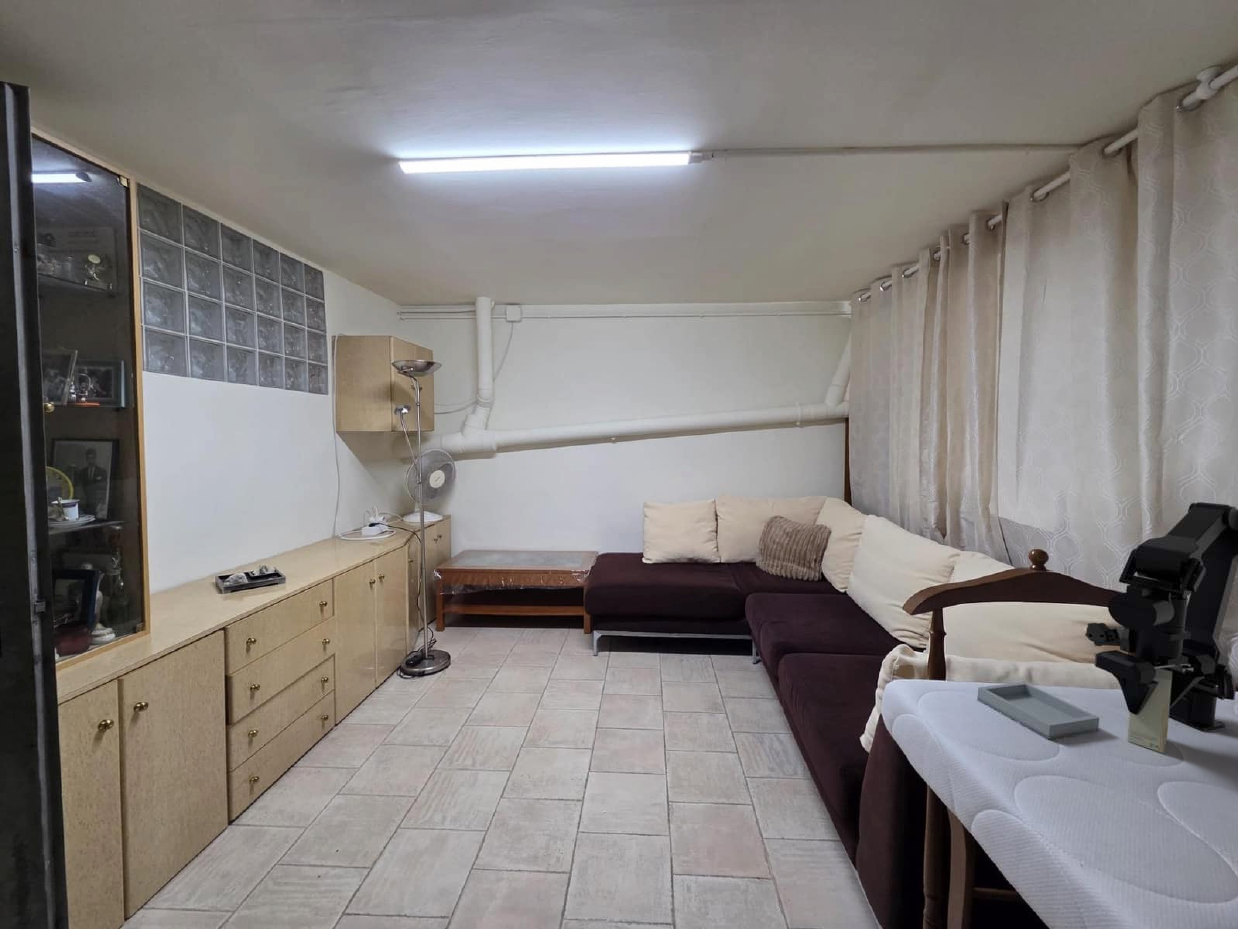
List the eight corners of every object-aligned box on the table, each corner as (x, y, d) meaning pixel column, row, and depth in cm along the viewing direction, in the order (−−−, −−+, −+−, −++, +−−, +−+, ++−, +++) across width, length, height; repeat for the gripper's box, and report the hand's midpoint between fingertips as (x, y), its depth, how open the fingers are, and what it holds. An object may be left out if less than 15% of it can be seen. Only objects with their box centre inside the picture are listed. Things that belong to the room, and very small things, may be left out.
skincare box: (1163, 754, 80) (1171, 682, 80) (1124, 741, 84) (1132, 671, 83) (1166, 740, 84) (1174, 671, 84) (1129, 728, 88) (1136, 661, 87)
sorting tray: (1023, 694, 98) (1024, 681, 98) (1098, 731, 86) (1099, 717, 86) (977, 700, 96) (978, 687, 95) (1048, 739, 83) (1049, 725, 83)
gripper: (1137, 601, 93) (1128, 682, 94) (1063, 607, 88) (1055, 692, 89) (1221, 624, 82) (1211, 715, 83) (1143, 632, 77) (1132, 728, 78)
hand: (1149, 711), depth 84 cm, fingers closed on skincare box, 7 cm apart
